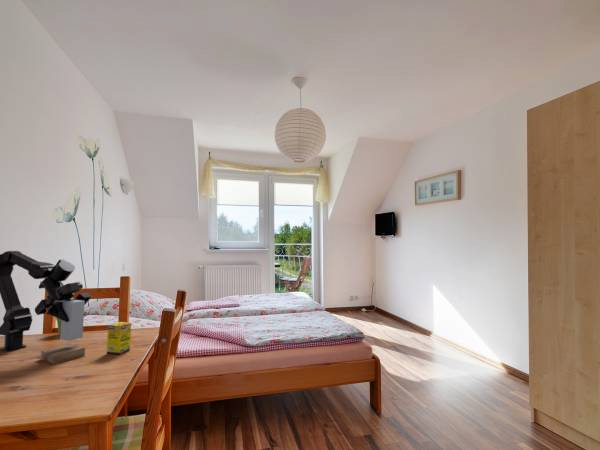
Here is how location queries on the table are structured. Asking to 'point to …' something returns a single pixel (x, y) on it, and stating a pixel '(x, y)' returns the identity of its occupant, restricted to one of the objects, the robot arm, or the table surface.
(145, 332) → the table surface
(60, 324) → the plant pot
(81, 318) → the slate block
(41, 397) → the table surface
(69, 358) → the walnut block
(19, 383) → the table surface
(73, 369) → the table surface
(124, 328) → the supplement box
